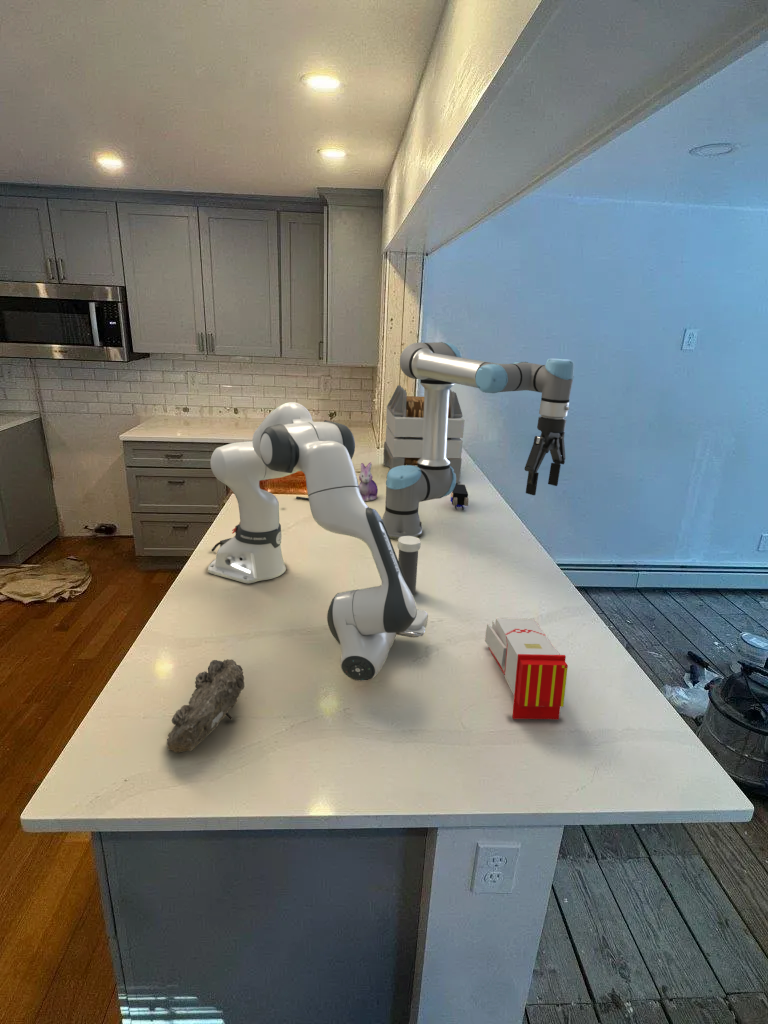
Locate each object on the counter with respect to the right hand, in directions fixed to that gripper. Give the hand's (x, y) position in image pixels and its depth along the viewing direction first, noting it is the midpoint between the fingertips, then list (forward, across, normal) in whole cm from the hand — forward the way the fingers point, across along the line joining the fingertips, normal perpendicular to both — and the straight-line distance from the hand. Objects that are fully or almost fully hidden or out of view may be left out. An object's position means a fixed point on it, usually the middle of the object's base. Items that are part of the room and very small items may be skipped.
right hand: (541, 489), depth 165 cm
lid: (+12, -37, +18) cm, 43 cm away
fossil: (+27, -103, +11) cm, 107 cm away
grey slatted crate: (+28, +61, +93) cm, 115 cm away
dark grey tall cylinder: (+27, -37, +18) cm, 50 cm away
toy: (+27, -50, -24) cm, 61 cm away
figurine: (+28, +14, +83) cm, 88 cm away
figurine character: (+27, +36, +52) cm, 68 cm away
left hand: (+21, -53, +10) cm, 58 cm away
